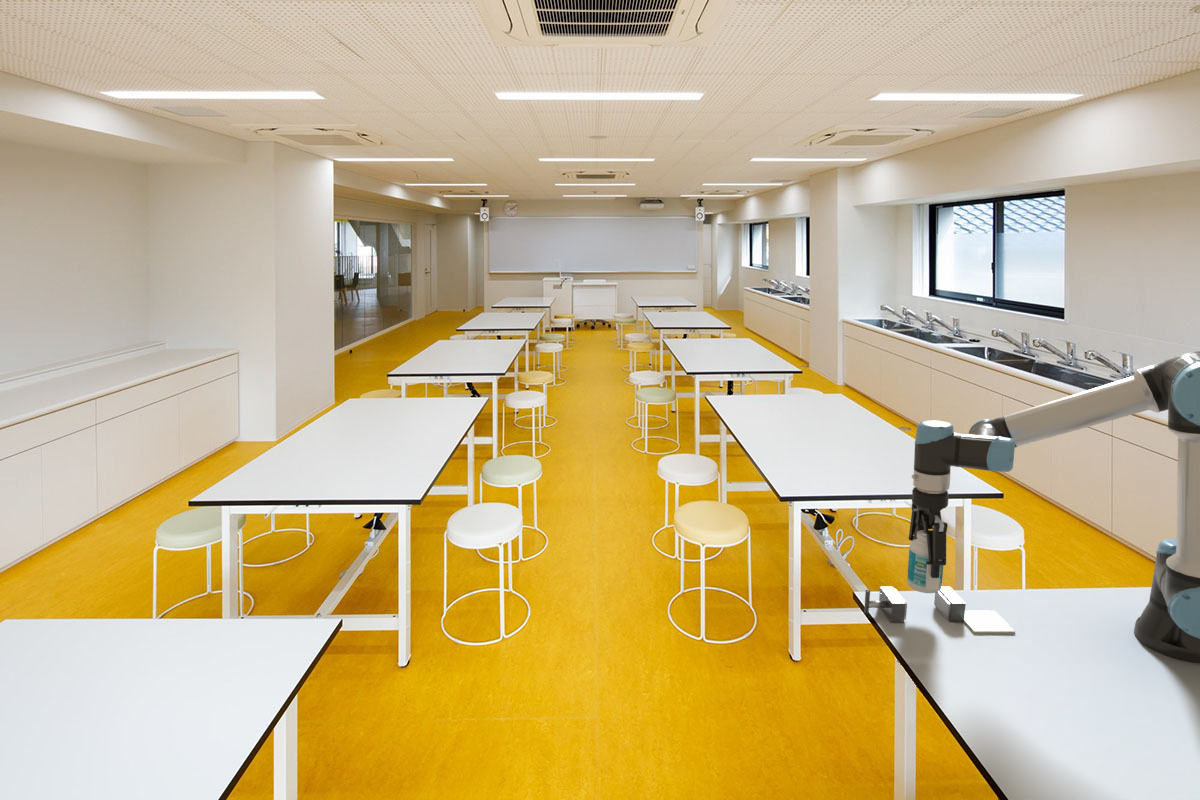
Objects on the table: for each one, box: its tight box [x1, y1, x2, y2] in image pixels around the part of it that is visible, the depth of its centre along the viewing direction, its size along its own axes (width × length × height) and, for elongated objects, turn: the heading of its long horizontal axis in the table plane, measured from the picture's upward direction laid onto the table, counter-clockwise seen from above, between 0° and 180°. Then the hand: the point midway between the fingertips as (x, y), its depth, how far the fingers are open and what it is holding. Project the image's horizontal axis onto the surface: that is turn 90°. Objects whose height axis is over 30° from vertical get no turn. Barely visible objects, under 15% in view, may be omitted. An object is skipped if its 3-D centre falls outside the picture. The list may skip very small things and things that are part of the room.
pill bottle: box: [906, 530, 944, 594], centre depth 159 cm, size 8×7×14 cm
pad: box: [963, 610, 1016, 635], centre depth 158 cm, size 9×9×1 cm
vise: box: [863, 586, 966, 624], centre depth 162 cm, size 21×8×7 cm, turn 87°
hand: (924, 580), depth 160 cm, fingers closed on pill bottle, 7 cm apart
